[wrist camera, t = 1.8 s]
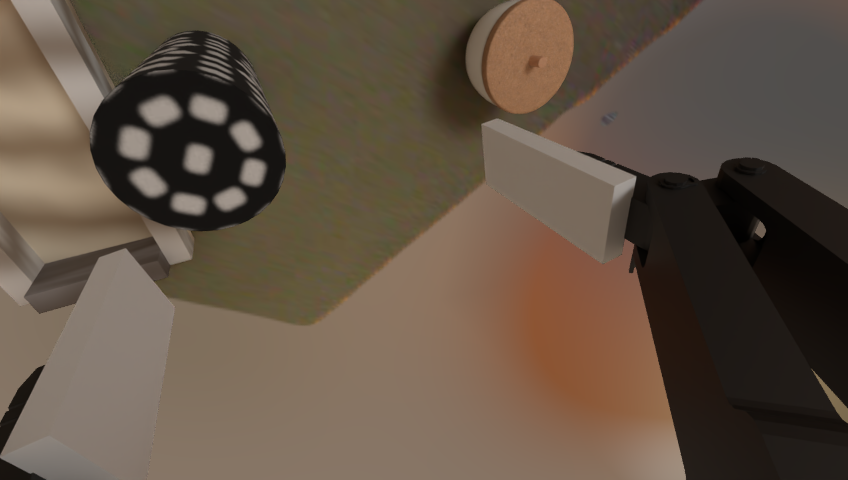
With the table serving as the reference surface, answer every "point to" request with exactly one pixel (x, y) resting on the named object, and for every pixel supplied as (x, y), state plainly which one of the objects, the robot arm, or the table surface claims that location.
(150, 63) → the white-spotted black cylinder
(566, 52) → the lidded jar
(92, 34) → the table surface
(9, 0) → the marbled beige tray
